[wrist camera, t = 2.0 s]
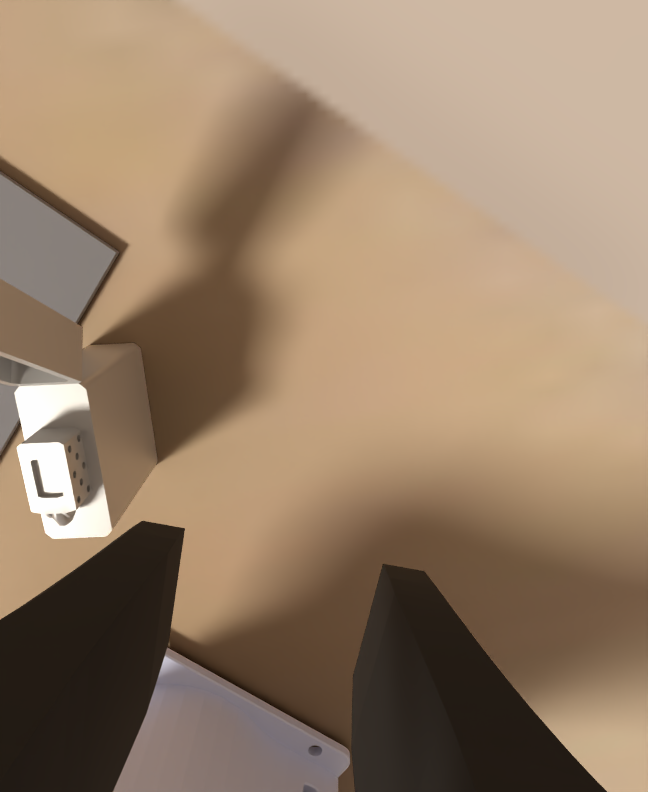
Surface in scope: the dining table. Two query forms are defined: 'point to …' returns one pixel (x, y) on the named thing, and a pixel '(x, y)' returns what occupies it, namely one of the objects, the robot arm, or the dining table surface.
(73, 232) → the mat
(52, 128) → the dining table surface
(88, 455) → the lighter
